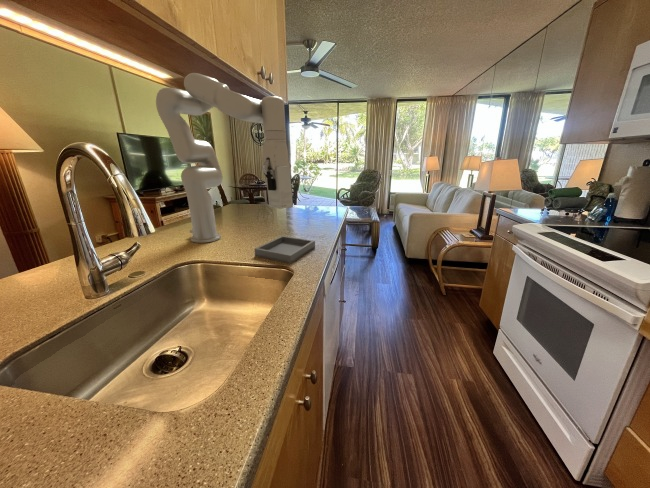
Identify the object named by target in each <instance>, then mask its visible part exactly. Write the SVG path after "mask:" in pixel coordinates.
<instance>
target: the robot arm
mask: <svg viewBox="0 0 650 488" xmlns="http://www.w3.org/2000/svg"><path fill="white" fill-rule="evenodd" d="M183 86H184V89H185V90H184V89H180V88H175V87H163V88H161V89H159V90H158V92H157V93H156V96H155V97H156V98H155V107H156V110H157V113H158V116H159V118H160V120H161V122H162V123H163V125H164V128H165V129H166V132H167V134H168V137H169V140H170V142H171V145H172V147H173V150H174V152H175V155H176V157H177V159H178V160H179V161H180V162H181V163H183V164H199V165H191V166H188V167H185V168H184V169H182V171H181V174H180V180H181V182H182V185H183V188H184V191H185V193H186V197H187V199H186V200H187V203H188V208H189V213H190V214H189V215H190V220H191V227H192V228H191V229H190V230H189V233H191V234H192V236H191V237H190V242H192V243H198V244H202V243H203V244H204V243H212V242H215V241H218V240H220V239H221V238H222V235H221V233H219V232H217V223H216V218H215V210H214V203H213V202H214V201H213V198H212V196H211V194H210V193H209V191H208V189H210V188H215V187H219V186H221V184H222V183H223V173H222V172H223V171H222V170H221V166H220V163H219V160H218V158H217V153H216V152H215V150H214V148H213V146H212V145H211V143H210V142H208V141H206V140H203V139H195V137H194V135H193V133H192V130H191V127H190V124H188V123H187V122H186V120H185V119H184V118H183V117H182V116H181V114H182V115H188V116H194V117H199V116H203V115H204V114H206V113H207V112H209V111H210V110H211V109H213V108H216V109H217V110H218V111H219V112H222V113H223V114H225V115H227V116H230V117H232V118H234V119H237V120H239V121H243V122H250V123H254V124H262V127H263V138H264V139H263V140H264V141H263V143H262V166H261V171H262V172H263V174H264V176H265V179H267V180H266V184H267V183H268V190H274V191H275V190H276V180H275V179H274V176H275V171H276V167H278V166H290V169H291V167H292V165H291V163H290V159H289V158H290V157H289V150H288V144H287V132H286V131H287V130H286V129H287V128H286V113H285V102H284V99H283V98H282V97H279V96H275V95H274V96H273V95H272V96H271V95H270V96H268V95H267V96H264V97H263V98H262V99H258V98H253V97H251V96H247V95H244V94H241V93H239V92H236V91H233V90H231V89H230V88H229V86H228V85H227V84H226V83H223V82H221V81H219V80H218V79H216V78H214V77H211V76H208V75H204V74H201V73H198V72H191V73H189V74H187V75H186V76H185V77H184V80H183ZM271 169H273V170H271ZM270 172H271V173H272V174H271V173H270ZM268 190H267V191H268Z"/></svg>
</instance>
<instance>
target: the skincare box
mask: <svg viewBox="0 0 650 488" xmlns="http://www.w3.org/2000/svg"><path fill="white" fill-rule="evenodd" d="M271 170H273V169H271ZM270 173H271V172H270ZM271 174H272V173H271ZM291 176H292V175H291V168H290V166H278V167H276V171H275V176H274V179H275V180H276V190H275V191H274V190H268V183H267V182H266V188H267V189H266V190H267V198H268V199H267V200H268V207H271V208H274V209H275V208H276V209H281V210H282V209H290V208H293V207H294V205H293V202H294V201H293V190H292V189H293V188H292V177H291ZM265 179H266V178H265ZM266 181H267V179H266Z"/></svg>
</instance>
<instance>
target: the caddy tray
mask: <svg viewBox="0 0 650 488" xmlns="http://www.w3.org/2000/svg"><path fill="white" fill-rule="evenodd" d="M315 248H316V240H312V239H307V238H306V239H304V238H299V237H292V236H286V235H281V236H278V237H277V238H274V239H273V240H270V241H267V242H266V243H264V244H261V245H259V246H257V247H256V248H254V257H256V256H258V257H257V258H261V257H262V258H263V259H266V258H267V259H268V260H271V259H272V260H271V261H277V262H281V263H286V264H290V265H292V264H293V263H294V262H296V261H297V260H299V259H300V258H302V257H303V256H305V255H307V254H308V253H310V252H311V251H313V250H314V249H315Z"/></svg>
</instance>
